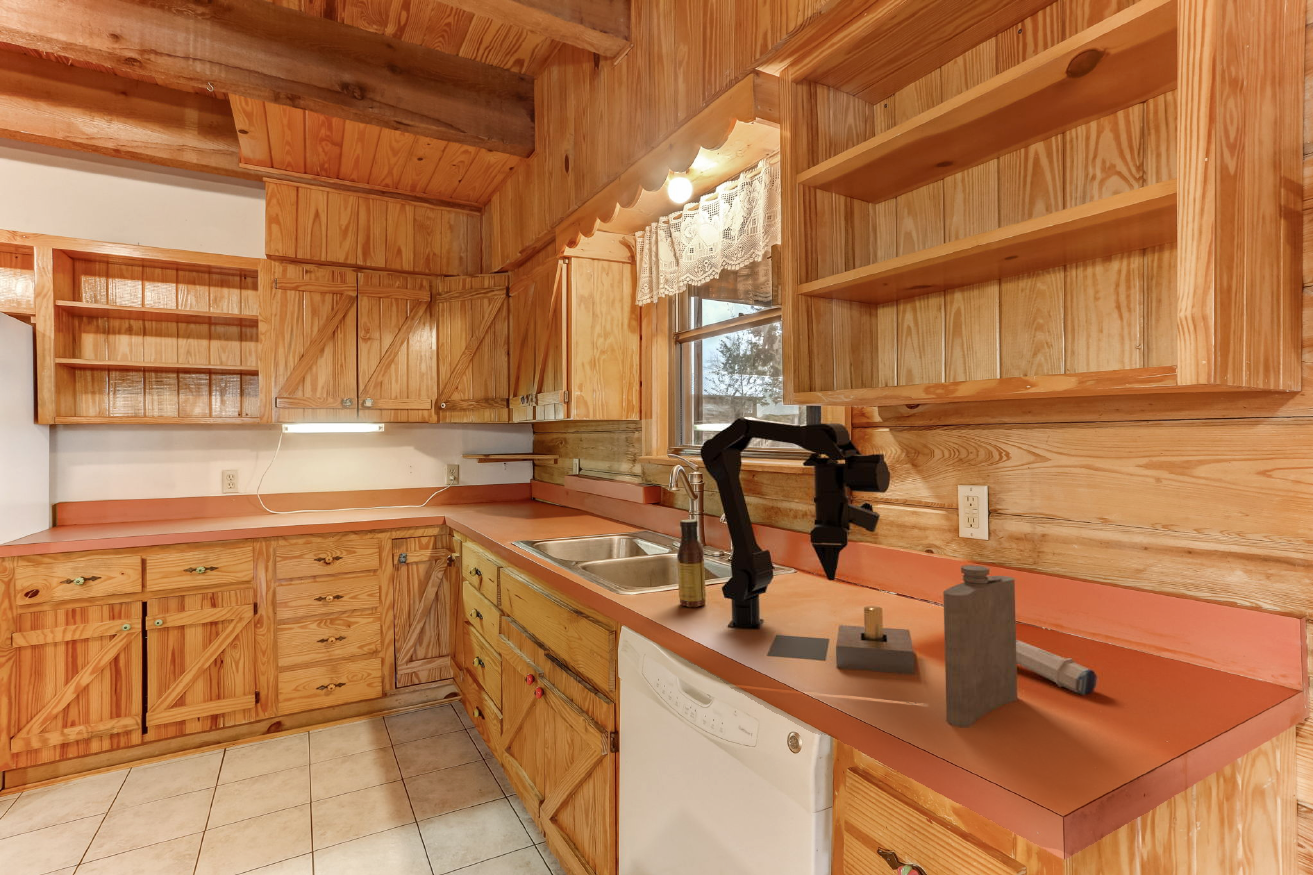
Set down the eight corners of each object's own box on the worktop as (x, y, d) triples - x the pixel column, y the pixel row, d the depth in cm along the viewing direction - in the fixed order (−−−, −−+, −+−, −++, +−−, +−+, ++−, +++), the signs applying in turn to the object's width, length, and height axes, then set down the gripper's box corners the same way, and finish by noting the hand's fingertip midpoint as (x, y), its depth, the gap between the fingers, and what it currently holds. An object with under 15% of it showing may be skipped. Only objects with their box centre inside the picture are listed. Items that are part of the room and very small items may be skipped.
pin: (865, 657, 112) (863, 605, 112) (883, 658, 111) (882, 606, 111) (865, 662, 109) (863, 610, 109) (883, 664, 108) (882, 611, 108)
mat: (776, 636, 124) (776, 634, 124) (829, 640, 121) (829, 638, 121) (766, 657, 113) (766, 655, 113) (825, 662, 110) (825, 660, 110)
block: (839, 646, 118) (839, 624, 118) (909, 652, 114) (909, 629, 114) (836, 669, 106) (836, 645, 106) (914, 676, 102) (913, 651, 102)
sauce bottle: (692, 600, 154) (690, 517, 154) (711, 604, 149) (709, 519, 149) (672, 605, 149) (670, 520, 149) (692, 610, 145) (689, 522, 145)
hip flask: (964, 729, 84) (961, 577, 84) (935, 719, 87) (932, 572, 87) (1021, 697, 94) (1018, 561, 94) (993, 689, 97) (989, 557, 97)
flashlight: (1078, 672, 93) (940, 608, 115) (1073, 715, 94) (937, 643, 116) (1101, 666, 95) (961, 604, 118) (1096, 708, 96) (958, 639, 118)
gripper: (877, 495, 107) (879, 588, 107) (875, 486, 125) (877, 566, 125) (809, 495, 111) (811, 585, 111) (817, 486, 129) (819, 564, 129)
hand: (832, 574), depth 119 cm, fingers open, 9 cm apart
